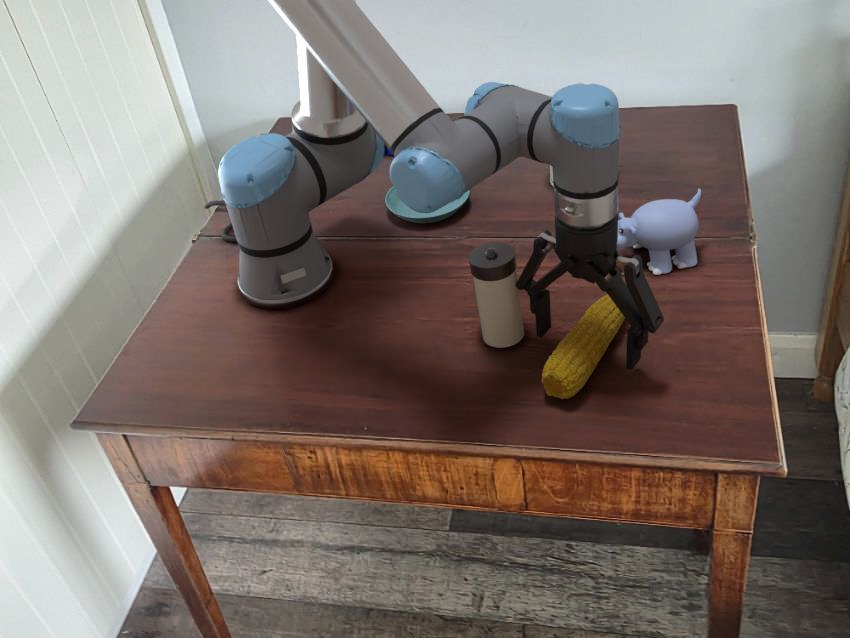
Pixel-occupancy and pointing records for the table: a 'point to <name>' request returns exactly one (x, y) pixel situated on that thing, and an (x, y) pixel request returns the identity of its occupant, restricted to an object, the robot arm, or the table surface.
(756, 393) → the table surface
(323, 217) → the table surface
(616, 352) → the table surface
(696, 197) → the hippopotamus toy
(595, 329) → the food
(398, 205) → the saucer
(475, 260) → the pepper mill
